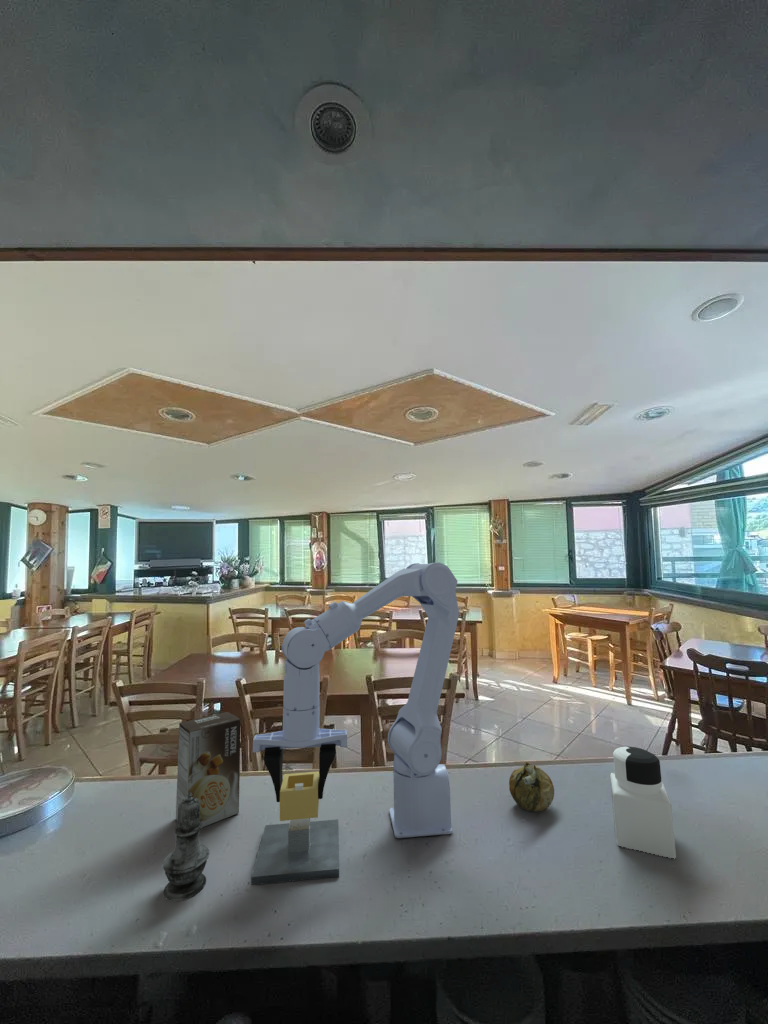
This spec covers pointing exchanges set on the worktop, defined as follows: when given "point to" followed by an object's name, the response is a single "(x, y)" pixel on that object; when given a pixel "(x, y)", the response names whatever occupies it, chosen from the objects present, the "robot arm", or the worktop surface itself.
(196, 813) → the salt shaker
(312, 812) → the yellow square planter
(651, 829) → the container
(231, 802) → the coffee box
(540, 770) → the onion
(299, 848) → the grey square base plate
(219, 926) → the worktop surface
